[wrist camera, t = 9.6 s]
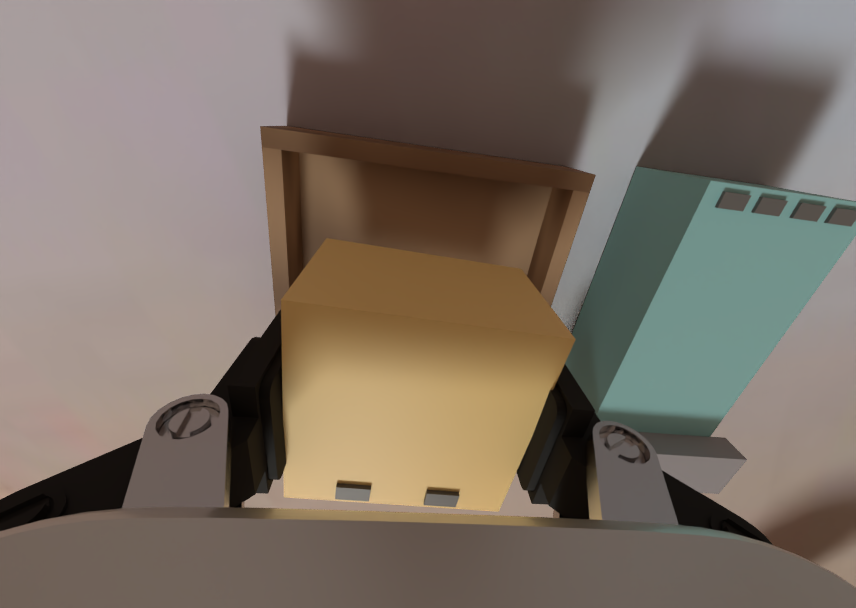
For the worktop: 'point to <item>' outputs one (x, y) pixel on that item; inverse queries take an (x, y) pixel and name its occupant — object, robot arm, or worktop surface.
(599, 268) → the mint slotted bar
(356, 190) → the tray
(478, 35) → the worktop surface
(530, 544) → the robot arm
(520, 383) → the stub
